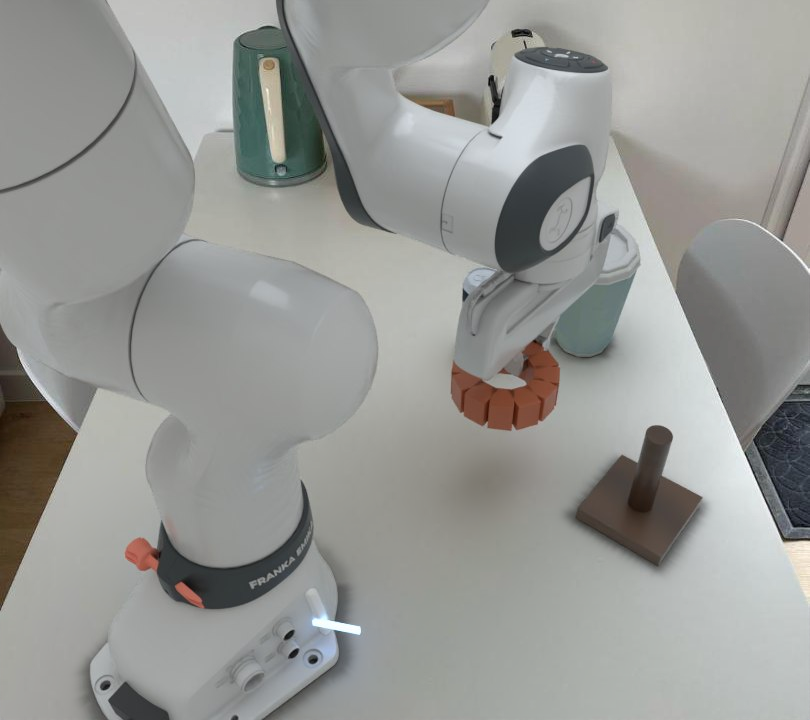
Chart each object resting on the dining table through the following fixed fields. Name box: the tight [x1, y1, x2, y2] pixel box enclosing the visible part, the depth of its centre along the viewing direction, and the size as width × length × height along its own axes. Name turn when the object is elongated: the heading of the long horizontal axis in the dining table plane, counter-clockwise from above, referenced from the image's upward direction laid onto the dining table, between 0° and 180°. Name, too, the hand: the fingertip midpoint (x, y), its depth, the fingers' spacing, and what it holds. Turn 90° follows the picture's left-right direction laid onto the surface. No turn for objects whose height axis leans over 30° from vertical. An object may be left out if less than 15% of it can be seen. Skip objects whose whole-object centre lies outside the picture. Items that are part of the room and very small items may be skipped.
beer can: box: [461, 266, 497, 307], centre depth 95 cm, size 5×5×12 cm
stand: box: [575, 424, 703, 567], centre depth 77 cm, size 9×9×12 cm
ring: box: [450, 342, 561, 432], centre depth 77 cm, size 10×10×3 cm
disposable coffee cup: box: [554, 223, 642, 358], centre depth 96 cm, size 11×11×15 cm
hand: (526, 359), depth 79 cm, fingers closed on ring, 2 cm apart
